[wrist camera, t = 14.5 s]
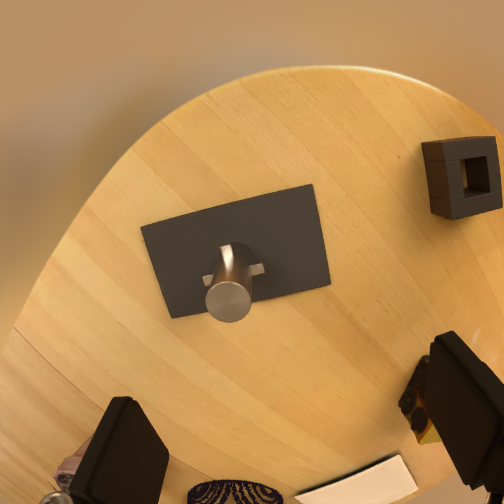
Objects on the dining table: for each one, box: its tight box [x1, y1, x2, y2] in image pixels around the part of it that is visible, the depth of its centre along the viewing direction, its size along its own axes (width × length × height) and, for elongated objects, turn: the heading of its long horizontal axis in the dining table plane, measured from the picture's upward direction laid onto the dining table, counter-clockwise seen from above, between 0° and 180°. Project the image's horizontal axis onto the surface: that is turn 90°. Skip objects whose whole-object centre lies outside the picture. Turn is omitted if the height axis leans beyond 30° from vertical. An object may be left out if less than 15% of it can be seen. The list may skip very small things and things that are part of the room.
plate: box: [294, 455, 418, 504], centre depth 51 cm, size 22×22×2 cm
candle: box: [398, 355, 442, 445], centre depth 38 cm, size 10×10×10 cm
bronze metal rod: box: [202, 242, 265, 323], centre depth 31 cm, size 6×6×12 cm
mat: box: [141, 184, 331, 319], centre depth 37 cm, size 12×20×1 cm, turn 104°
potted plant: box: [32, 434, 94, 495], centre depth 36 cm, size 18×20×25 cm
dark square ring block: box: [421, 136, 503, 221], centre depth 31 cm, size 9×9×5 cm
